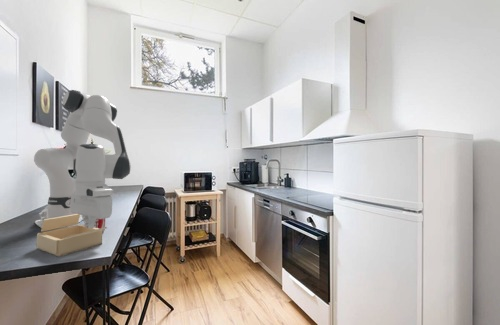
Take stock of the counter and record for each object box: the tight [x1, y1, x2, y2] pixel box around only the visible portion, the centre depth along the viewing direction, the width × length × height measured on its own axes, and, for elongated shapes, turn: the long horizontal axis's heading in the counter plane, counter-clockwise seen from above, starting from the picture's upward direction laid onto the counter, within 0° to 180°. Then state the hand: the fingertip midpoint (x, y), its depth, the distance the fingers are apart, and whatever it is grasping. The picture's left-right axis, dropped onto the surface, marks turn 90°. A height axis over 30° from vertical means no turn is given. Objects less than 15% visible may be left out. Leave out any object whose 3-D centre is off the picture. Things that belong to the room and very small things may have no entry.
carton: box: [36, 224, 103, 258], centre depth 87 cm, size 16×15×6 cm
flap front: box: [63, 226, 108, 239], centre depth 82 cm, size 1×12×5 cm
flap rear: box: [40, 214, 80, 233], centre depth 90 cm, size 1×12×5 cm, turn 152°
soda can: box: [94, 218, 106, 233], centre depth 103 cm, size 7×7×12 cm
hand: (89, 228), depth 81 cm, fingers closed
